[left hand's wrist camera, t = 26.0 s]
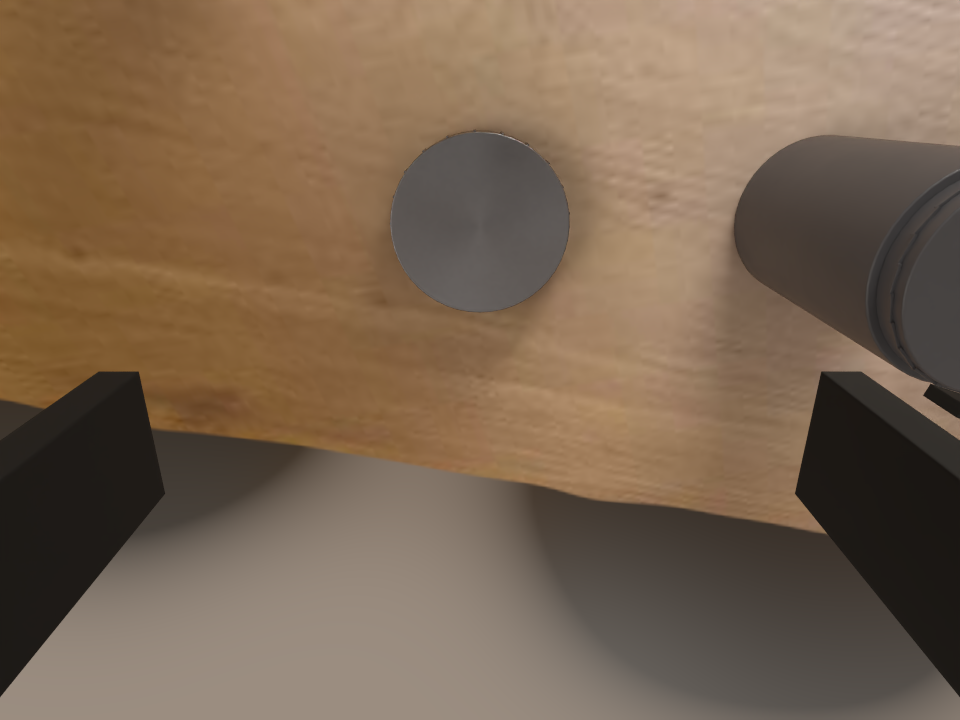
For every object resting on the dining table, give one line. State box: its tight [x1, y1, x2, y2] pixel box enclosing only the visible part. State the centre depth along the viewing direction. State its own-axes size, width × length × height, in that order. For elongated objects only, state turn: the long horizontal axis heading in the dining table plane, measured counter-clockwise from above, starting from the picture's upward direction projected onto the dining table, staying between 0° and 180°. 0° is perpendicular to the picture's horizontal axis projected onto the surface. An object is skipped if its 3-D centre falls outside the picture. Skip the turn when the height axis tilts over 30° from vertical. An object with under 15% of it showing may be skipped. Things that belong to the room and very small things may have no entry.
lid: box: [390, 129, 570, 312], centre depth 36 cm, size 10×10×2 cm
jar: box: [734, 135, 960, 393], centre depth 30 cm, size 9×9×16 cm
